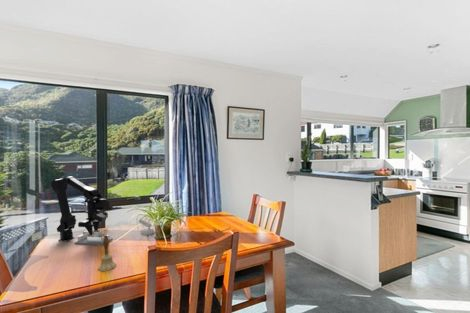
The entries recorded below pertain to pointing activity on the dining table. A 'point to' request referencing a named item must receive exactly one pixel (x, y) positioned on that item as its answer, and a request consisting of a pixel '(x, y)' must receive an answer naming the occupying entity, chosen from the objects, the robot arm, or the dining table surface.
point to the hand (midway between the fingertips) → (93, 233)
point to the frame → (94, 233)
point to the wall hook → (148, 228)
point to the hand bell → (106, 258)
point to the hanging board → (91, 240)
